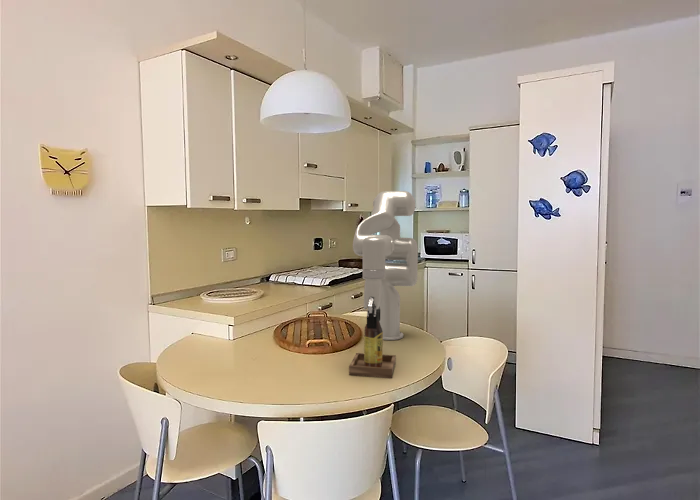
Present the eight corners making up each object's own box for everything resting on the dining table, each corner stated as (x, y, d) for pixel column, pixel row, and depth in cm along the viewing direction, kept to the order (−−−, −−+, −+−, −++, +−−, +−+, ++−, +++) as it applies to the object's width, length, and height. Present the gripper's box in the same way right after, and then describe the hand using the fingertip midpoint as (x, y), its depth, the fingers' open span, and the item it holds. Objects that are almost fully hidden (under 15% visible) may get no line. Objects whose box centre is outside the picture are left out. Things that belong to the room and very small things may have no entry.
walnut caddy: (356, 361, 158) (356, 352, 158) (395, 363, 155) (395, 355, 155) (349, 375, 144) (349, 366, 144) (391, 378, 142) (392, 369, 141)
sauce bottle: (381, 370, 146) (381, 310, 145) (362, 368, 148) (362, 310, 146) (383, 363, 153) (384, 306, 151) (365, 362, 154) (365, 305, 152)
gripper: (366, 269, 156) (366, 317, 158) (358, 278, 140) (358, 331, 141) (387, 270, 155) (387, 318, 157) (382, 278, 138) (381, 332, 140)
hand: (373, 324), depth 149 cm, fingers open, 9 cm apart
